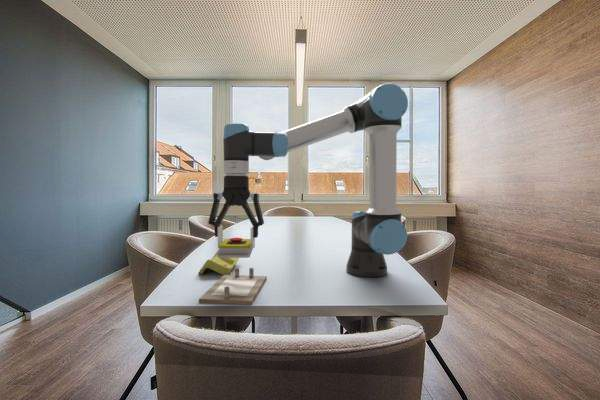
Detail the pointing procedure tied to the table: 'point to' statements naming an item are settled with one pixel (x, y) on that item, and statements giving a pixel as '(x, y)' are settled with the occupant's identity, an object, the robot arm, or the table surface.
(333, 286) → the table surface
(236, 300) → the nest plate
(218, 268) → the plastic component
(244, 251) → the emergency button
